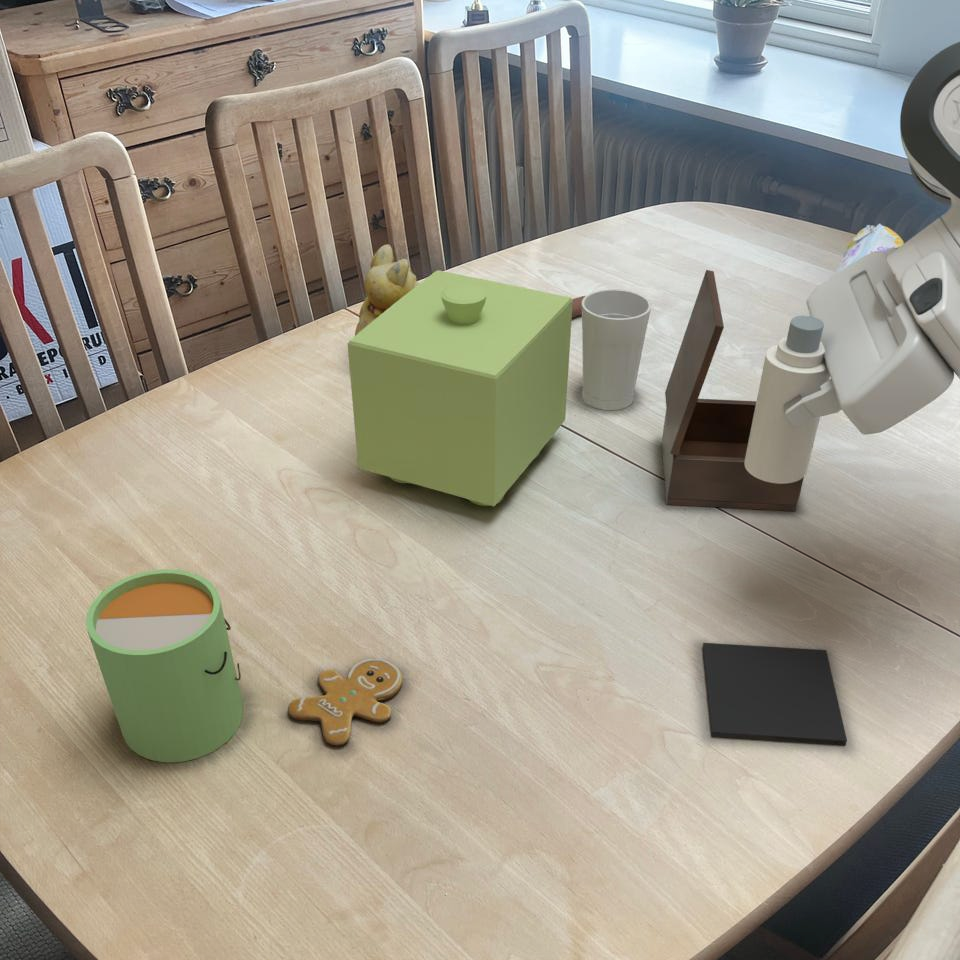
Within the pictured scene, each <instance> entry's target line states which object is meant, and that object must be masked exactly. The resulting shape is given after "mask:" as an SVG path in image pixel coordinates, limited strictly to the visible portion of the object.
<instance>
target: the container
mask: <svg viewBox="0 0 960 960" xmlns="http://www.w3.org/2000/svg"><path fill="white" fill-rule="evenodd" d="M418 284H419V285H417V286H416V287H415V288H413V289H412V290H411V291H410V292H408V293H407V294H406V295H405V296H403V297H402V298H401V299H400V300H398V301H397V302H396V303H395V304H393V305H392V306H391V307H390V308H388V309H387V310H386V311H385V312H383V313H382V314H381V315H380V316H379V317H377V318H376V319H375V320H374V321H372V322H371V323H370V324H369V325H368V326H366V327H365V328H364V329H363V330H361V331H360V332H359V333H358V334H357V335H356V336H355V335H354V336H353V337H352V338H351V339H350V340H349V342H347V353H348V364H349V377H350V387H351V388H350V389H351V390H350V391H351V401H352V412H353V421H354V422H353V423H354V434H355V446H356V455H357V456H356V457H357V465H358V469H360V470H364V471H367V472H370V473H374V474H378V475H380V476H384V477H388V478H389V479H391V480H392V481H393V482H396V483H398V484H399V483H400V484H413V485H416V486H420V487H423V488H427V489H431V490H434V491H438V492H442V493H445V494H448V495H452V496H456V497H460V498H463V499H467V500H468V501H470V503H472V504H474V505H477V506H481V507H482V506H483V507H489V506H491V507H495V506H496V505H497V504H500V503H501V502H502V501H503V500H504V498H505V495H506V494H507V492H508V491H509V490H510V488H511V487H512V486H513V485H514V483H516V481H517V480H518V479H519V478H520V477H521V475H522V474H523V473H524V472H525V470H526V469H527V468H528V467H529V466H530V464H531V463H532V462H533V460H534V459H536V458H538V457H539V456H540V453H541V451H542V450H543V448H544V447H545V446H546V445H547V444H548V442H549V441H550V440H551V439H552V437H553V436H554V435H555V433H556V432H557V431H558V430H559V429H560V427H562V425H563V423H564V422H565V421H566V414H567V413H566V412H567V401H568V400H567V398H568V397H567V396H568V385H569V383H568V381H569V369H570V368H569V367H570V353H571V337H572V336H571V335H572V321H573V320H572V319H573V317H572V303H573V300H572V299H573V298H572V297H570V296H565V295H560V294H555V293H550V292H545V291H541V290H536V289H532V288H527V287H523V286H517V285H514V284H513V285H512V284H508V283H502V282H498V281H493V280H488V279H484V278H483V279H482V278H478V277H473V276H468V275H463V274H459V273H458V274H457V273H454V272H450V271H449V272H448V271H444V270H439V269H437V270H435V271H434V272H433V273H431V274H430V275H429V276H427V277H426V278H424V279H423V280H422V281H421V282H420V283H418Z"/></svg>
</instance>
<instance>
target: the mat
mask: <svg viewBox="0 0 960 960" xmlns="http://www.w3.org/2000/svg"><path fill="white" fill-rule="evenodd" d="M702 657H703V658H702V659H703V668H704V676H705V687H706V697H707V707H708V717H709V727H710V734H711V735H710V736H711V737H714V738H715V737H716V738H726V739H727V738H730V739H744V740H760V741H776V742H791V743H805V744H818V745H819V744H820V745H822V744H823V745H835V746H836V745H837V746H846V745H847V742H848V739H847V734H846V731H845V730H846V729H845V725H844V723H843V722H844V721H843V717H842V712H841V708H840V704H839V700H838V695H837V691H836V690H837V689H836V685H835V682H834V678H833V673H832V669H831V664H830V659H829V656H828V651H827V650H826V649H815V648H814V649H813V648H798V647H795V648H794V647H781V646H766V645H765V646H764V645H749V644H731V643H716V642H715V643H714V642H703V643H702Z"/></svg>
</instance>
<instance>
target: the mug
mask: <svg viewBox="0 0 960 960" xmlns="http://www.w3.org/2000/svg"><path fill="white" fill-rule="evenodd" d="M85 626H86V631H87V634H88V637H89V640H90V643H91V646H92V648H93V649H92V650H93V652H94V655H95V657H96V660H97V663H98V666H99V669H100V672H101V675H102V678H103V681H104V684H105V687H106V691H107V693H108V696H109V699H110V702H111V704H112V708H113V711H114V713H115V716H116V720H117V723H118V725H119V728H120V732H121V734H122V737H123V739H124V742H125V744H126V745H127V746H128V747H129V749H130V750H131V751H133V752H134V753H135V754H137V755H138V756H140V757H143V758H144V759H147V760H150V761H154V762H158V763H159V762H160V763H182V762H183V763H184V762H189V761H192V760H196V759H200V758H203V757H204V756H206V755H209V754H211V753H213V752H214V751H217V750H218V749H220V748H221V747H222V746H224V745H225V744H226V743H227V742H228V741H230V740H231V739H232V737H233V736H234V735H236V733H237V731H238V729H239V728H240V726H241V723H242V721H243V718H244V702H243V698H242V694H241V689H240V685H239V681H240V680H241V679H242V678H241V677H242V676H241V675H242V674H241V669H240V663H239V662H237V664H235V662H234V657H233V652H232V647H231V643H230V638H229V633H228V631H231V625H230V623H229V622H228V621H227V619H226V618H225V615H224V611H223V606H222V601H221V596H220V594H219V592H218V589H217V588H216V586H214V584H213V583H212V582H211V581H209V580H208V579H207V578H206V577H204V576H202V575H200V574H198V573H194V572H192V571H188V570H183V569H182V570H181V569H174V568H173V569H172V568H171V569H170V568H169V569H168V568H165V569H152V570H148V571H142V572H139V573H136V574H135V573H134V574H132V575H129V576H127V577H124V578H122V579H120V580H118V581H116V582H113V584H111V585H109V586H108V587H106V588H105V589H104V590H103V591H102V592H100V594H99V595H97V596H96V597H95V598H94V600H93V601H92V603H91V604H90V606H89V608H88V610H87V612H86V617H85ZM235 665H237V671H236V666H235ZM237 672H238V675H237Z"/></svg>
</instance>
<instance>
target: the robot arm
mask: <svg viewBox="0 0 960 960" xmlns="http://www.w3.org/2000/svg"><path fill="white" fill-rule="evenodd" d="M899 115H900V116H899V117H900V118H899V130H900V140H901V145H902V147H903V151H904V154H905V156H906V158H907V161H908V166H909V169H910V172H911V175H912V177H913V179H914V181H915V183H916V185H917V186H918V187H919V189H920V190H921V191H922V192H923V193H924V194H925V195H927V196H928V197H929V198H931V199H932V200H934V201H936V202H937V203H940V204H942V205H945V206H949V208H948V210H947V211H946V212H944V213H943V214H942V215H940V217H938V218H936V219H935V220H934V221H933V222H931V223H930V224H928V225H927V226H926V227H924V228H923V229H922V230H920V231H919V232H917V233H916V234H915V235H914V236H912V237H911V238H909V239H908V240H907V241H906V242H904V244H903V245H901V246H900V247H897V248H895V247H892V248H890V249H888V250H887V251H885V252H883V251H875V252H872V253H870V254H868V255H866V256H864V257H862V258H861V259H859V260H857V261H856V262H854V263H852V264H851V265H849V266H848V267H846V268H845V269H843V270H842V271H840V272H839V273H837V274H836V275H834V276H833V277H831V276H830V277H831V278H830V277H829V278H830V279H829V278H828V279H827V280H825V281H824V282H822V283H821V284H820V285H818V286H817V287H816V288H814V290H813V291H812V292H811V293H810V295H809V296H808V298H806V303H805V304H806V306H807V309H808V313H809V316H812V317H815V318H818V319H820V320H821V321H822V322H823V323H824V327H823V332H822V336H821V340H820V341H821V342H822V343H823V346H824V349H825V353H824V358H825V361H826V365H827V368H828V371H829V374H830V379H829V380H828V381H827V382H825V383H824V384H823V385H821V386H820V389H821V390H820V391H818V392H816V393H813V394H811V395H808V396H806V397H802V396H801V395H800V394H799V395H798V396H796V397H795V398H793V399H792V400H791V401H790V402H788V403H786V404H785V405H784V413H785V417H786V419H787V420H788V422H789V423H790V424H791V425H792V426H793V427H794V428H799V427H801V426H803V425H804V424H806V423H807V422H809V421H810V420H812V419H813V418H817V417H820V418H821V417H826V416H829V415H833V414H837V413H839V412H840V411H842V412H843V413H844V415H845V416H846V418H848V420H849V421H850V423H852V425H853V426H854V427H855V428H856V429H857V431H859V433H860V434H862V435H865V436H866V435H875V434H879V433H882V432H885V431H887V430H889V429H891V428H893V427H895V425H897V424H899V423H901V422H903V421H904V420H906V419H907V418H909V417H910V416H912V415H914V414H916V412H917V413H918V411H920V410H922V409H924V408H925V407H926V406H927V405H929V404H931V403H932V402H934V401H935V400H937V399H938V398H939V397H941V396H942V395H943V394H944V393H945V392H946V391H947V390H948V389H949V388H950V387H951V385H952V383H953V382H954V379H955V375H956V376H957V378H958V379H959V380H960V41H958V42H955V43H953V44H950V45H949V46H947V47H945V48H943V49H942V50H940V51H939V52H937V53H936V54H935V55H934V56H932V57H931V58H930V59H929V60H928V61H926V62H925V64H924V65H923V66H922V67H921V68H920V70H919V71H917V73H916V74H915V76H914V77H913V78H912V81H911V82H910V84H909V85H908V88H907V90H906V92H905V94H904V98H903V101H902V104H901V109H900V114H899Z"/></svg>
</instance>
